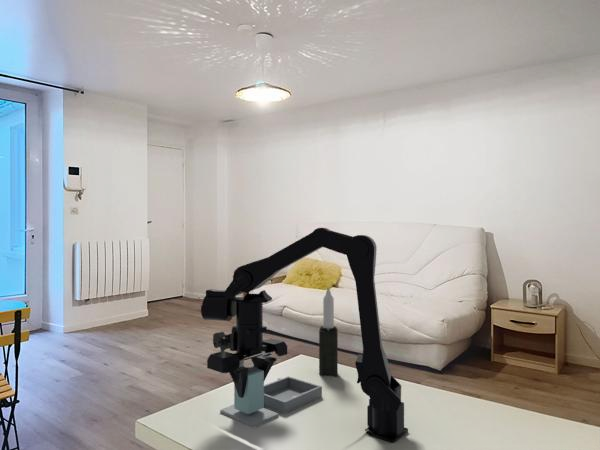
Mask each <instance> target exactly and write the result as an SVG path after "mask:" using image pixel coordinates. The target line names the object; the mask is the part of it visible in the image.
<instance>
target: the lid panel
mask: <svg viewBox="0 0 600 450" xmlns="http://www.w3.org/2000/svg"><path fill="white" fill-rule="evenodd" d="M219 412H220V413H221V415H222V414H223V415H225V416H226V417H230V418H231V419H234V420H236V421H238V422H240V423H243V424H245V425H246V426H249V427H251V428H253V429H255V428H257V427H259V426H261V425H263V424H266V423H268V422H270V421H272V420H274V419H276V418H278V417H279V412H278V413H277V412H275V411H273V410H270V409H268V408H265V407H264V408H262V409H259V410H257V411H255V412H252V413H250V414H247V413H244V412H242V411H239V410H237V409H234V404H231V405H229V406H227V407H224V408H222V409H220V411H219Z"/></svg>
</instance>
